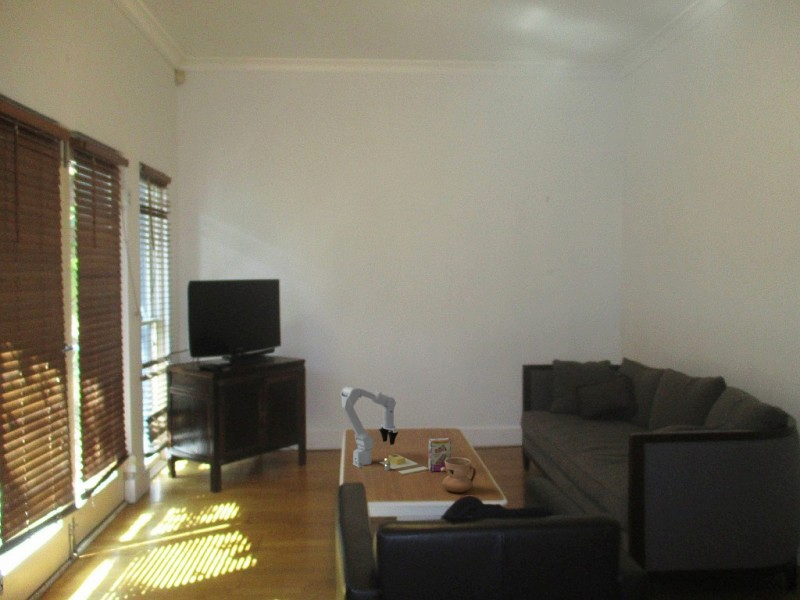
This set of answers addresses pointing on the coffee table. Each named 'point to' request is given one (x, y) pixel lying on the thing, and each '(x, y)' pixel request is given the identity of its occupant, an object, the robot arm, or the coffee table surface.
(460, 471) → the ceramic jug
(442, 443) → the candy bar box
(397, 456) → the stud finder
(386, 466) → the banded metal canister
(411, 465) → the subfloor board
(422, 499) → the coffee table surface
